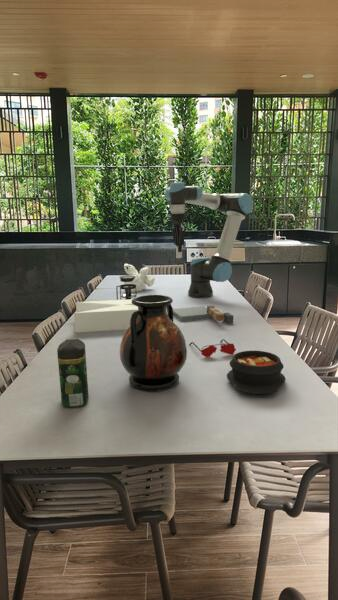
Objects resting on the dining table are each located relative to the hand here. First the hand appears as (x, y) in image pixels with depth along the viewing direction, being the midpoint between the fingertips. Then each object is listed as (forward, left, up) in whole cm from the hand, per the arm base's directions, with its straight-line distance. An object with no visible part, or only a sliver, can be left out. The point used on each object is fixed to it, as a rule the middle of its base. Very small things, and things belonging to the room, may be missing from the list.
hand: (179, 257), depth 236 cm
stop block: (-12, +37, -27) cm, 47 cm away
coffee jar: (+66, +99, -27) cm, 122 cm away
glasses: (+10, +70, -28) cm, 76 cm away
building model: (+35, +20, -28) cm, 49 cm away
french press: (+27, -11, -27) cm, 40 cm away
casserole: (+9, +104, -28) cm, 108 cm away
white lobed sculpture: (+10, -56, -27) cm, 63 cm away
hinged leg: (-7, +34, -24) cm, 42 cm away
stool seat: (0, +20, -27) cm, 34 cm away
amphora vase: (+40, +93, -27) cm, 105 cm away
